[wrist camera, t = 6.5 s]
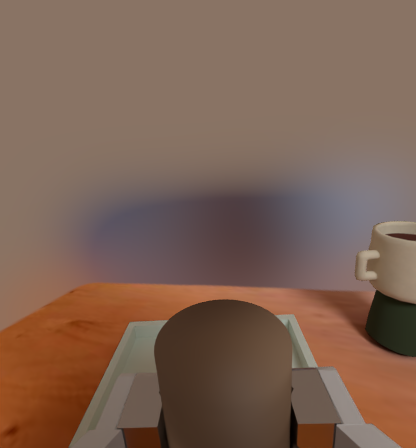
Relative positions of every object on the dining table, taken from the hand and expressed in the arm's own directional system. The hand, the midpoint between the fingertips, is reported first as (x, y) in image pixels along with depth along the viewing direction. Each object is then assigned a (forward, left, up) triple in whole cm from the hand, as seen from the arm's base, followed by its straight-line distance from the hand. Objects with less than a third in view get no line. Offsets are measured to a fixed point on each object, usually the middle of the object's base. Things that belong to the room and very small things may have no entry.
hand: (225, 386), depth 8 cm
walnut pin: (0, -1, -14) cm, 14 cm away
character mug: (+19, +19, -16) cm, 31 cm away
